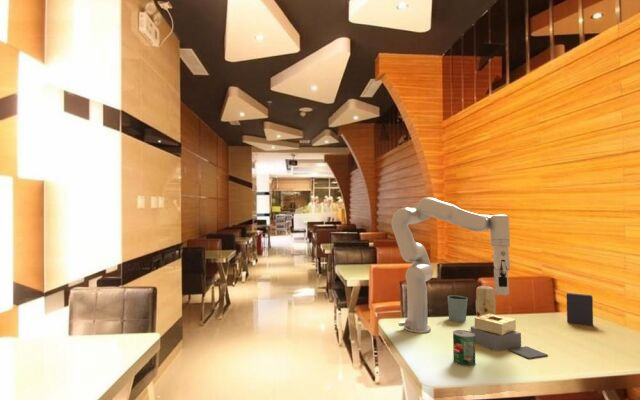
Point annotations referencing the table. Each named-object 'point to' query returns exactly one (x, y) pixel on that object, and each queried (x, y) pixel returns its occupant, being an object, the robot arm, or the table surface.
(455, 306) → the blue-grey cup
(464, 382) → the table surface
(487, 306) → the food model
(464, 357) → the canned tomato
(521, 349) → the pad
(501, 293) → the light grey tall block
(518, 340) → the grey square block
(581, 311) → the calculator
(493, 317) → the wooden block with hole
